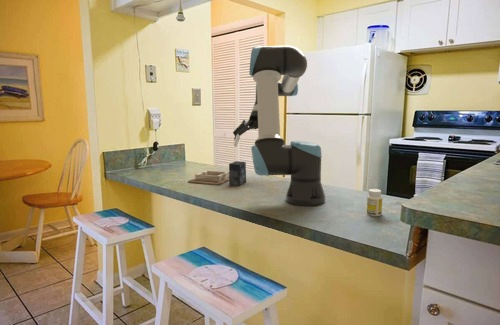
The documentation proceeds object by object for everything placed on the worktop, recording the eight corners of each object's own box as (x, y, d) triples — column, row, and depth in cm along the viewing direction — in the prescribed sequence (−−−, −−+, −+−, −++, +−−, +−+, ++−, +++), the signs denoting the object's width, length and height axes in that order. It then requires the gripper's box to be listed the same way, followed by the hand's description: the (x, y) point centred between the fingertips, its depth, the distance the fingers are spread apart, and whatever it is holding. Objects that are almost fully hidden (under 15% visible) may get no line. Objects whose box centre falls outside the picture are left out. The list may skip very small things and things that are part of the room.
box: (239, 186, 157) (239, 164, 155) (229, 185, 159) (228, 163, 158) (246, 182, 164) (246, 161, 162) (236, 181, 167) (235, 160, 165)
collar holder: (219, 185, 159) (219, 178, 159) (187, 182, 166) (187, 175, 166) (235, 177, 175) (235, 171, 175) (206, 175, 183) (206, 169, 182)
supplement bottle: (378, 211, 116) (379, 188, 115) (383, 216, 111) (385, 191, 110) (364, 212, 116) (365, 188, 114) (369, 216, 111) (370, 192, 110)
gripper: (281, 119, 178) (271, 151, 167) (239, 119, 188) (227, 149, 178) (277, 109, 173) (267, 142, 162) (234, 110, 183) (222, 140, 172)
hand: (246, 145), depth 170 cm, fingers open, 13 cm apart
